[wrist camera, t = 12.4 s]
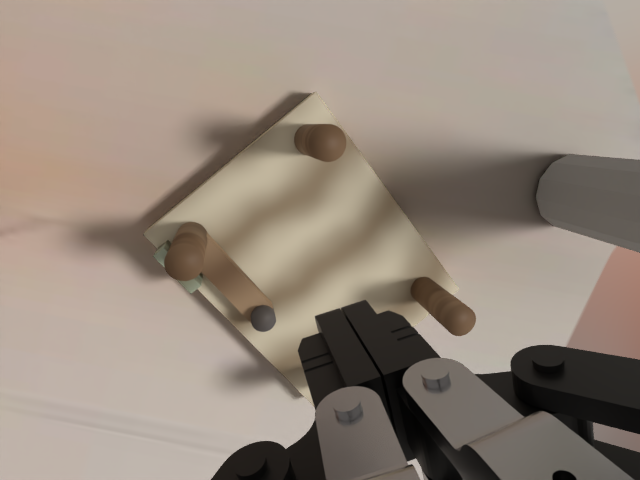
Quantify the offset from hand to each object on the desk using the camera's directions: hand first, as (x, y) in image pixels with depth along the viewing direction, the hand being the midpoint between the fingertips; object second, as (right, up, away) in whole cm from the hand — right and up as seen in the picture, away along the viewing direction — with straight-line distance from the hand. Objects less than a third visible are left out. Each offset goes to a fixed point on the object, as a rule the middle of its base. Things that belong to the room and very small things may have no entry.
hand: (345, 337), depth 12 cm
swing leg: (-8, 0, +24) cm, 25 cm away
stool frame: (-2, +1, +27) cm, 27 cm away
